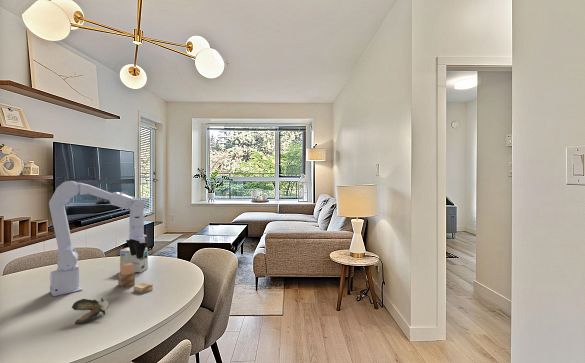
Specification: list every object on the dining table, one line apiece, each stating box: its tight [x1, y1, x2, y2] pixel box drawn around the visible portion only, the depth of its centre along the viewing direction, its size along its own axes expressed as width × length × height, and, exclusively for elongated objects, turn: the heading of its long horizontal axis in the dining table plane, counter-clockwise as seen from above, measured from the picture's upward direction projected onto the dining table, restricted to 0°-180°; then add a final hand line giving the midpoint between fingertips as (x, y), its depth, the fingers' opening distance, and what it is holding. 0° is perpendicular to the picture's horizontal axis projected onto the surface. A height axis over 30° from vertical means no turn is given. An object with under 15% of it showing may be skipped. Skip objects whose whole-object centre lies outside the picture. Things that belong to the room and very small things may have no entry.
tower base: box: [117, 279, 136, 288], centre depth 131 cm, size 5×5×2 cm
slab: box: [133, 281, 154, 294], centre depth 125 cm, size 5×5×2 cm
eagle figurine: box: [71, 297, 109, 325], centre depth 100 cm, size 8×7×9 cm
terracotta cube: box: [119, 262, 135, 276], centre depth 131 cm, size 4×4×4 cm
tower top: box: [117, 272, 136, 282], centre depth 131 cm, size 5×5×2 cm
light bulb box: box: [119, 246, 149, 273], centre depth 151 cm, size 11×7×11 cm, turn 84°
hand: (136, 256), depth 137 cm, fingers open, 7 cm apart
